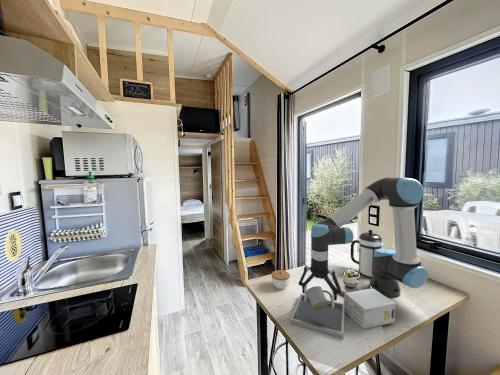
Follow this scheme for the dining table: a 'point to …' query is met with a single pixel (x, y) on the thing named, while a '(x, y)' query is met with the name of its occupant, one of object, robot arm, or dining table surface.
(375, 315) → the supplement box
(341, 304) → the square tray
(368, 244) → the coffee press
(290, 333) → the dining table surface
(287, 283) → the lidded jar
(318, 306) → the ceramic mug
